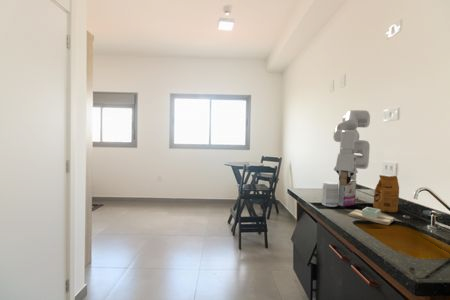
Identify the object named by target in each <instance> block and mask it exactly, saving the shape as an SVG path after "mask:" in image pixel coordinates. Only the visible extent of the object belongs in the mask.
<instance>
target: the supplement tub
mask: <svg viewBox="0 0 450 300" xmlns="http://www.w3.org/2000/svg"><path fill="white" fill-rule="evenodd" d="M338 194H339V182H335V181H323V182H322V193H321V205H323V206H324V207H329V208H335V207H338V206H339V205H338Z"/></svg>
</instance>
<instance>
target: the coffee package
mask: <svg viewBox="0 0 450 300" xmlns="http://www.w3.org/2000/svg"><path fill="white" fill-rule="evenodd" d="M373 193H374V194H373V202H372V208H375V209H380V210H381V213H385V212H386V213H398V210H399V199H400V184H399V179H398V175H391V176H387V175H381V174H380V175H379V180H378V182H377V184H376V186H375V189H374V192H373Z"/></svg>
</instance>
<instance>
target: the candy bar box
mask: <svg viewBox="0 0 450 300" xmlns="http://www.w3.org/2000/svg"><path fill="white" fill-rule="evenodd" d="M338 186H339V188H338V205H337V206H340V207H349V206H355V205H356V200H355V196H356V192H357V191H356V190H357V179H356V180H351V182H350V183H349V185H347V186H343V185H340V181H339V180H338ZM356 197H357V196H356Z"/></svg>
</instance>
